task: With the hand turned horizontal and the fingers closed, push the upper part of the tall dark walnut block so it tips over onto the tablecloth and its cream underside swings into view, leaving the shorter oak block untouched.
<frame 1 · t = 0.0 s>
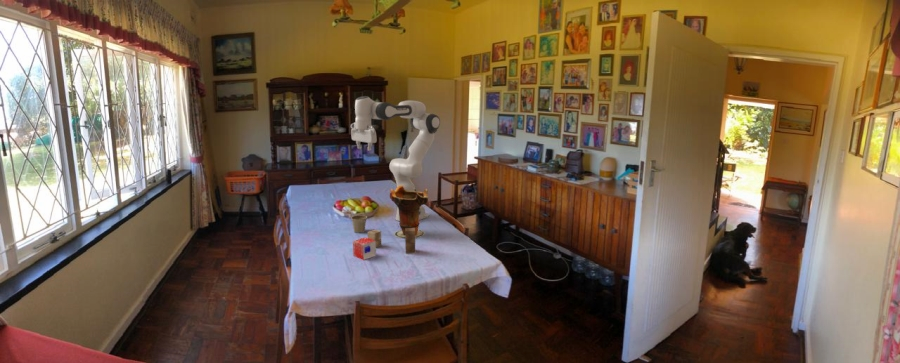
hand: (364, 149, 248), 48 cm above the table, tool pointing down, fingers open, 8 cm apart
red and cream cube: (364, 256, 217), on the table
decorative vase: (409, 234, 250), on the table
walnut block: (410, 251, 223), on the table
flower pot: (359, 231, 254), on the table
oak block: (374, 245, 231), on the table
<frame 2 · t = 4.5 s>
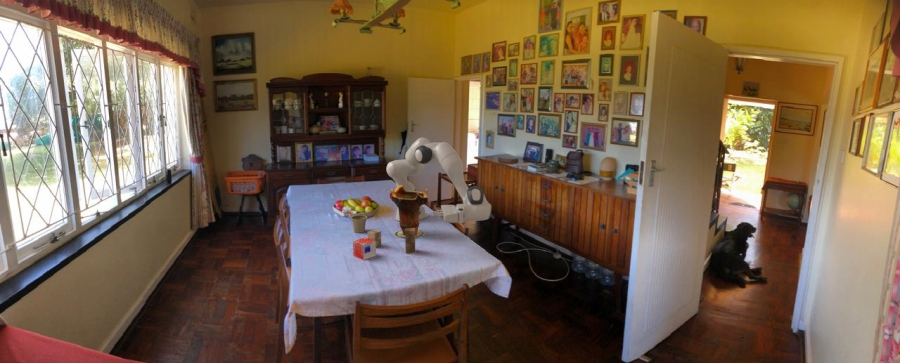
hand: (433, 213, 220), 20 cm above the table, tool horizontal, fingers closed
nothing on the table moved.
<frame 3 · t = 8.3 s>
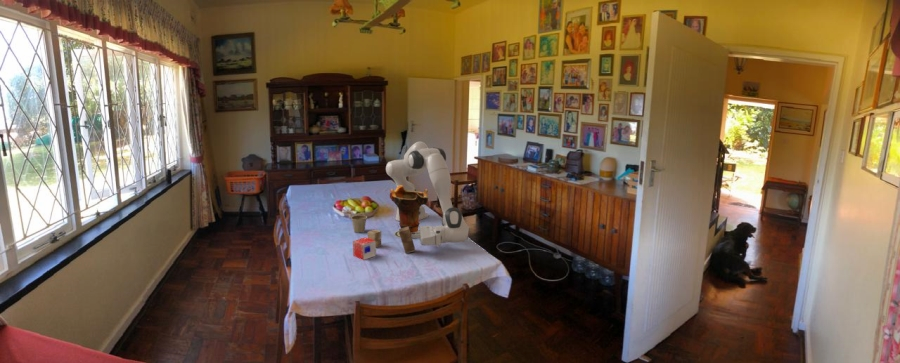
hand: (411, 235, 221), 9 cm above the table, tool horizontal, fingers closed
walnut block: (410, 250, 223), point 1 cm above the table, tilted 15°, touching gripper
everything else where it was.
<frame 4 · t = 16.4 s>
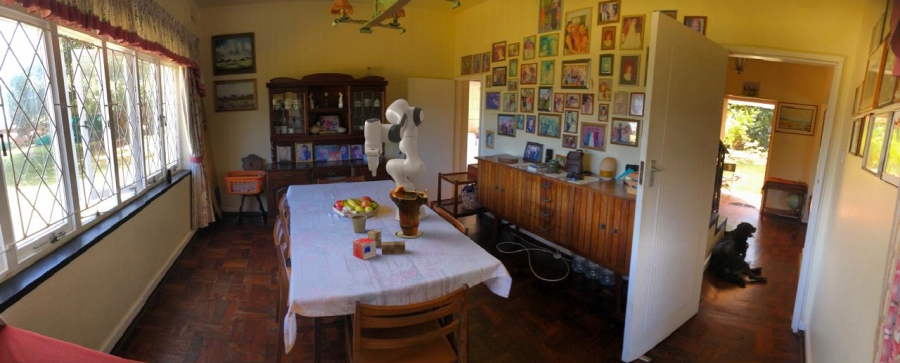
hand: (374, 175, 229), 37 cm above the table, tool pointing down, fingers closed
walnut block: (405, 247, 222), point 2 cm above the table, tilted 90°
everything else where it was.
at the end: walnut block tilted 90°; walnut block inside the target area (3.1 cm from its centre), point 2.4 cm above the table; oak block tilted 0° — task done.
